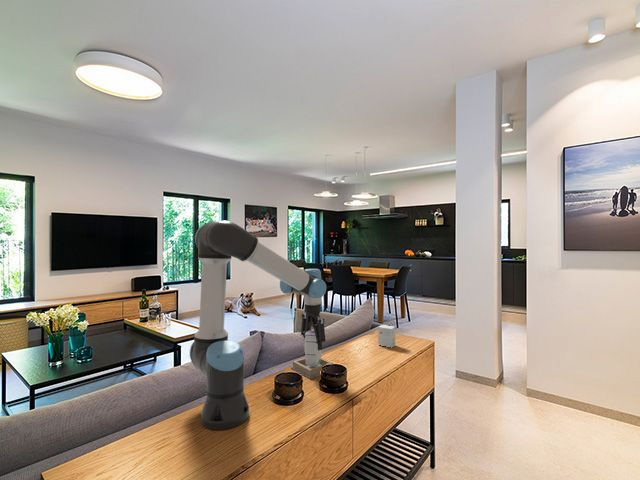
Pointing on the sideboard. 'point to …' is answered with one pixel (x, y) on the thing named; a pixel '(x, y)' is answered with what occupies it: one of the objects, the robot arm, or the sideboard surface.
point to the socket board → (309, 367)
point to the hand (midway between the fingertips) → (312, 354)
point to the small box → (386, 336)
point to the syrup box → (311, 349)
